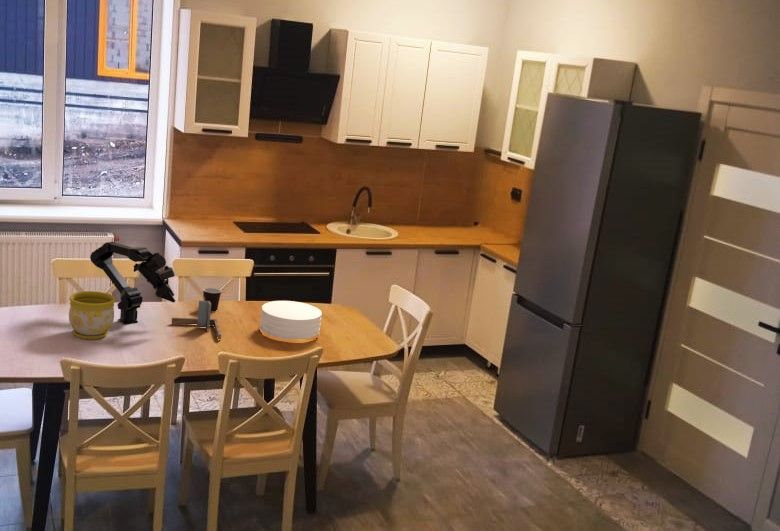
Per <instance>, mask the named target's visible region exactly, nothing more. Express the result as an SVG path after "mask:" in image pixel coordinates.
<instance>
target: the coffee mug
mask: <svg viewBox="0 0 780 531" xmlns="http://www.w3.org/2000/svg"><path fill="white" fill-rule="evenodd" d="M202 293H203V301H210V302H211V311H216V310H217V311H218V308H219V304H220V299H221V294H222V290H221V289H219V288H216V287H206V288H203V289H202ZM217 311H216V312H217Z"/></svg>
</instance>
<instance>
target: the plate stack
mask: <svg viewBox="0 0 780 531" xmlns="http://www.w3.org/2000/svg"><path fill="white" fill-rule="evenodd" d="M322 314H323V312H322V310H321V309H319V308H318V307H316V306H314V305H311V304H309V303H306V302H305V303H304V302H302V301H301V302H299V301H295V300H292V301H291V300H272V301H269V302H266V303H264V304H262V306H261V313H260V323H259V328H260V327H261V329H262V331H263V332H264V333H266V334H268V335H271V336H274V337H278V338H283V339H306V338H311V337H314V336H316V335H317V334H319V335H320V332H321V322H322V316H323V315H322Z"/></svg>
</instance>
